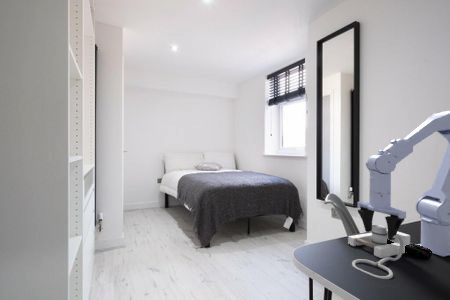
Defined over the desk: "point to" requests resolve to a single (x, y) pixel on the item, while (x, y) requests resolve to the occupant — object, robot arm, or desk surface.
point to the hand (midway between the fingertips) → (379, 235)
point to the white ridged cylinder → (379, 235)
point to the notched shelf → (382, 249)
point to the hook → (381, 261)
